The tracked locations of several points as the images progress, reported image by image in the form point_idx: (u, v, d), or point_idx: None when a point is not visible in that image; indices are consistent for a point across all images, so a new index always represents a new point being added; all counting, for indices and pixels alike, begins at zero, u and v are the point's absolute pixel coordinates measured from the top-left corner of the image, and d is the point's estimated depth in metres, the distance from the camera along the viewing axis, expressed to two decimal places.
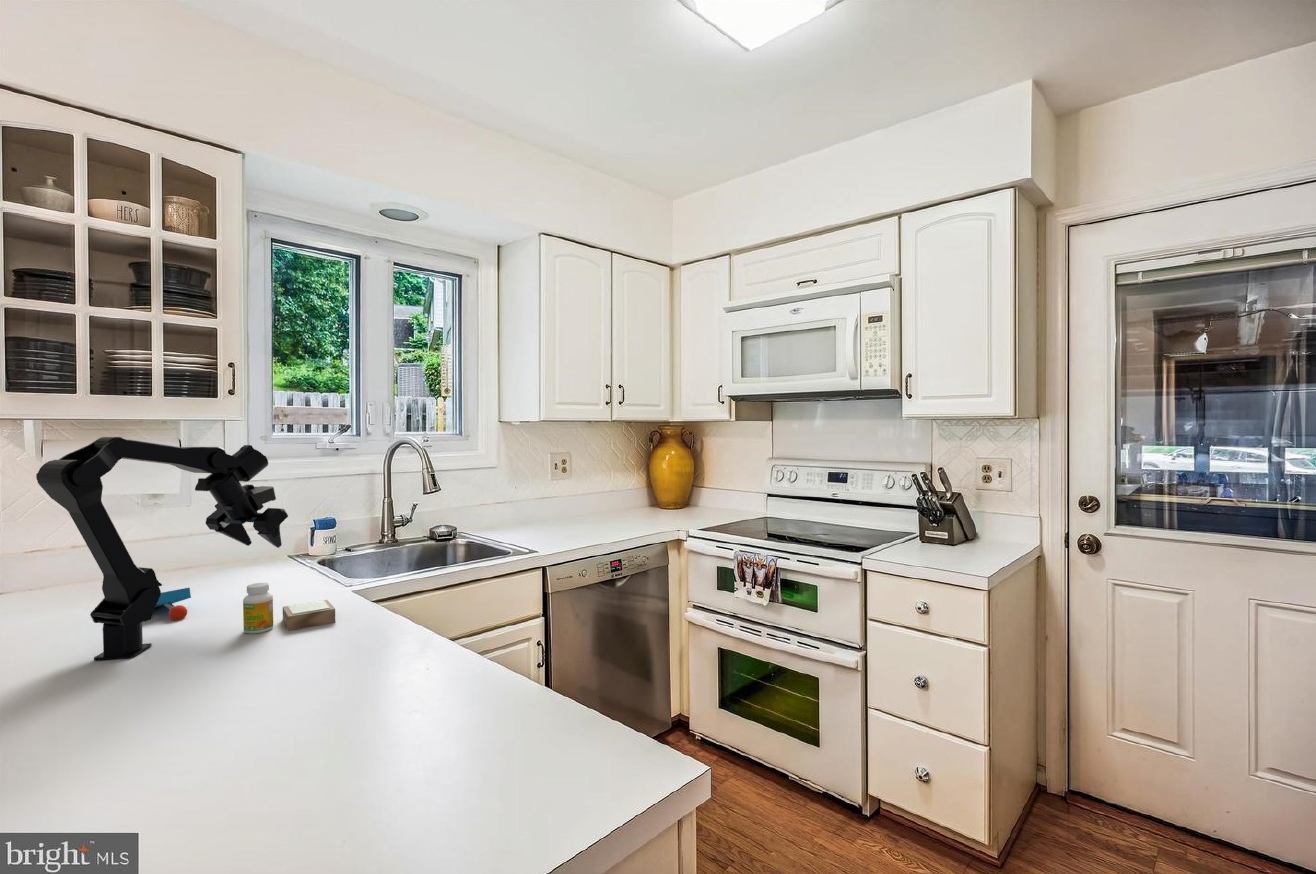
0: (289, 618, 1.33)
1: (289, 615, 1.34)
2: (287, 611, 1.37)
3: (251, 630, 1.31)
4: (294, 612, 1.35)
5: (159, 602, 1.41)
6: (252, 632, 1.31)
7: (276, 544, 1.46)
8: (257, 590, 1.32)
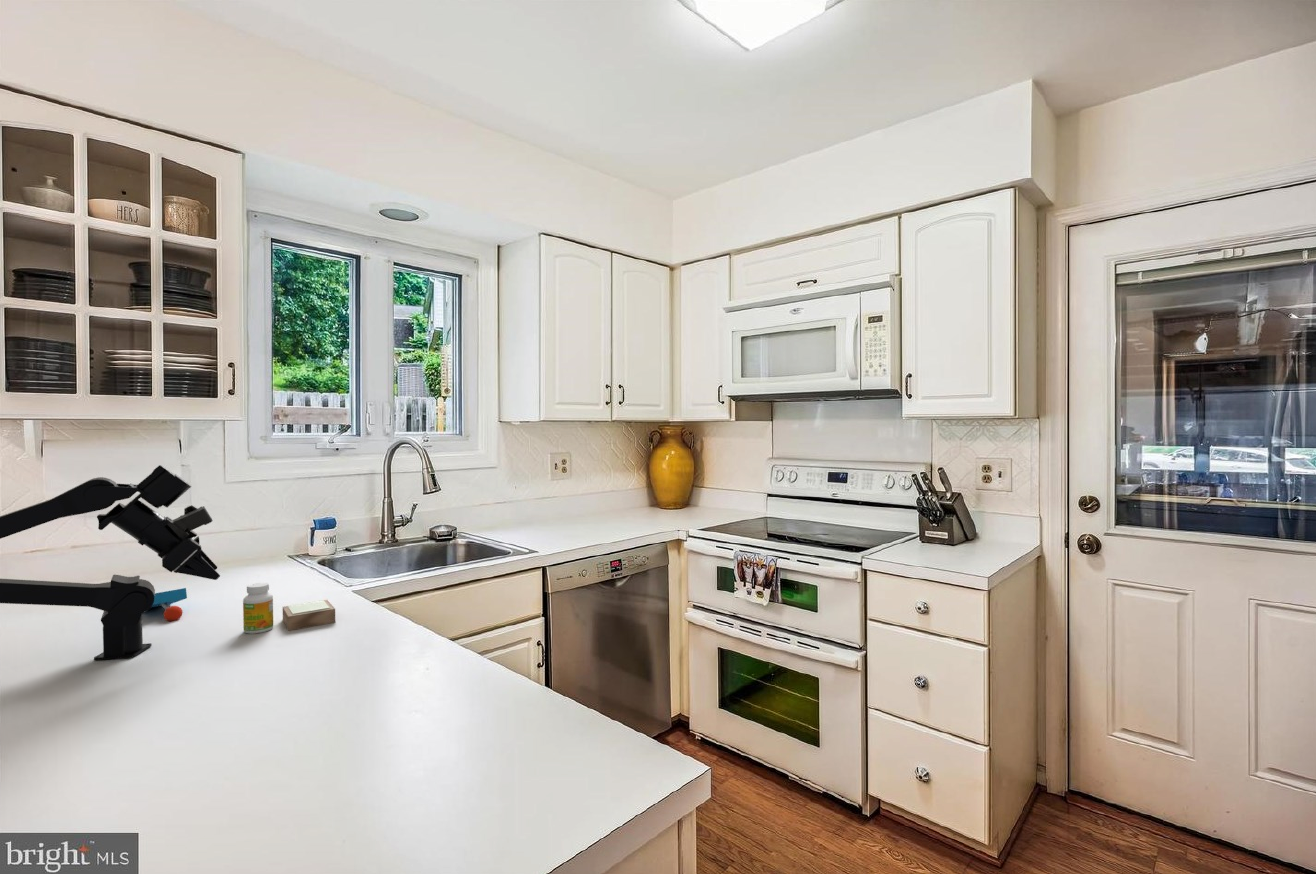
0: (289, 618, 1.33)
1: (289, 615, 1.34)
2: (287, 611, 1.37)
3: (251, 630, 1.31)
4: (294, 612, 1.35)
5: (154, 602, 1.41)
6: (252, 632, 1.31)
7: (209, 577, 1.24)
8: (257, 590, 1.32)
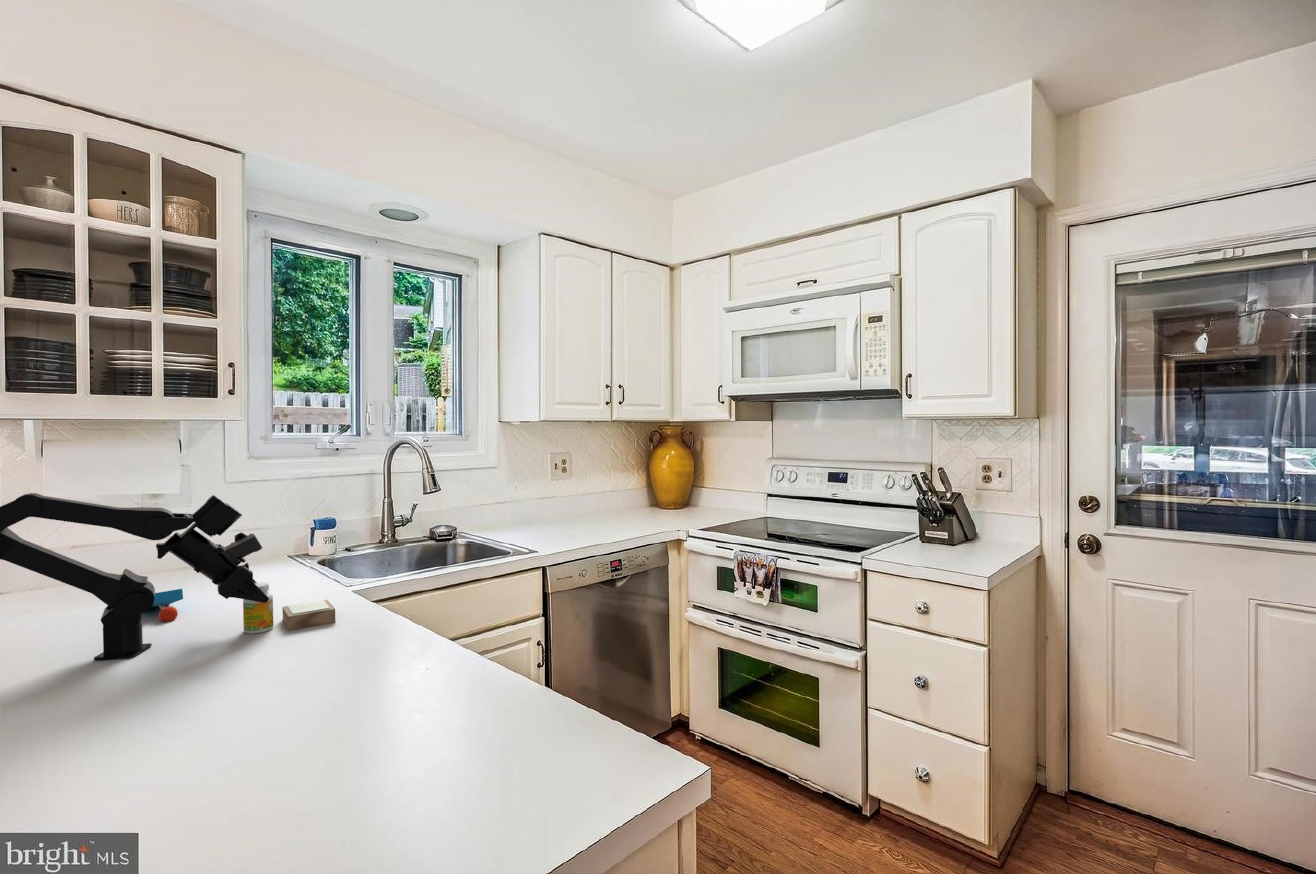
0: (289, 618, 1.33)
1: (289, 615, 1.34)
2: (287, 611, 1.37)
3: (251, 630, 1.31)
4: (294, 612, 1.35)
5: None
6: (252, 632, 1.31)
7: (259, 600, 1.31)
8: None
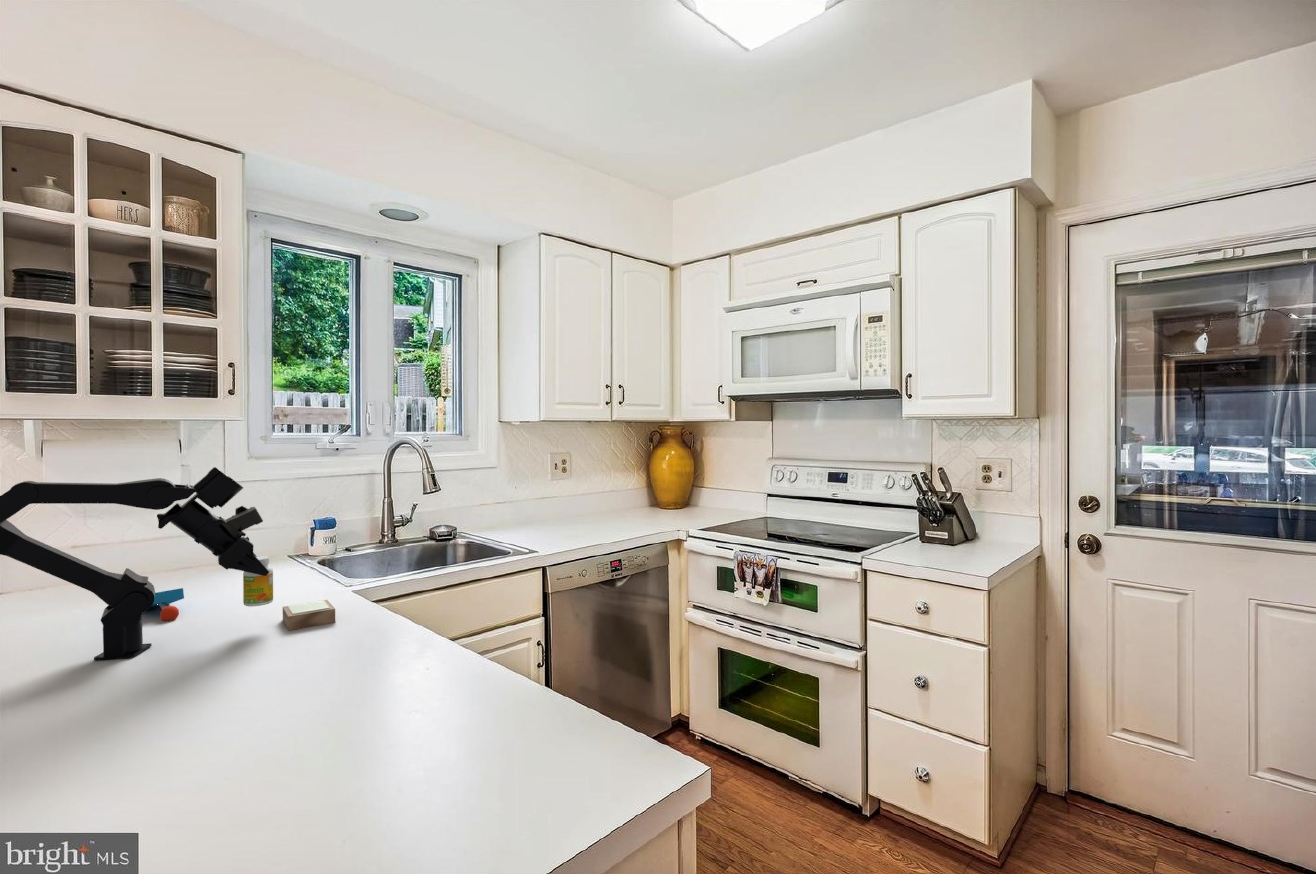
0: (289, 618, 1.33)
1: (289, 615, 1.34)
2: (287, 611, 1.37)
3: (251, 603, 1.31)
4: (294, 612, 1.35)
5: None
6: (252, 605, 1.31)
7: (259, 573, 1.31)
8: None
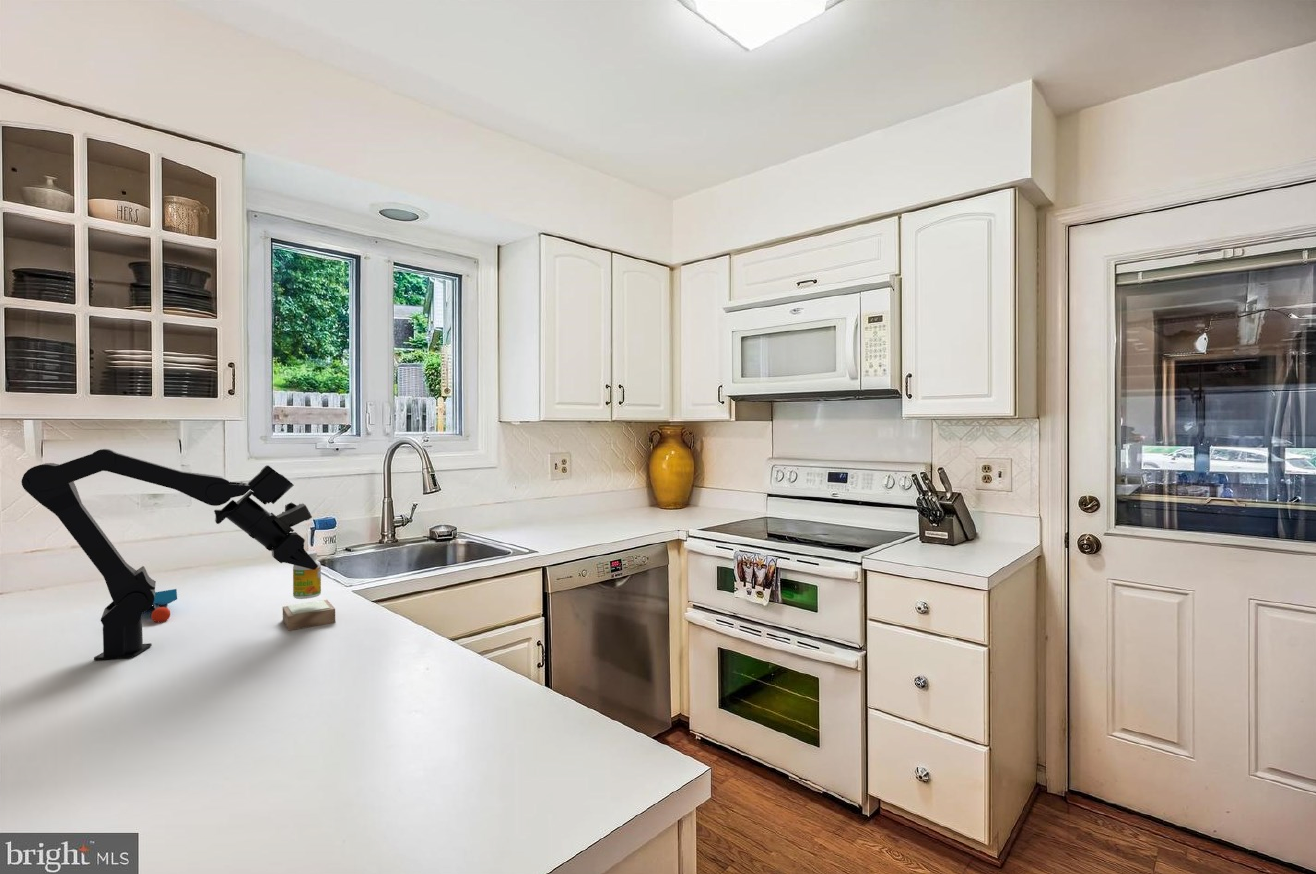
0: (289, 618, 1.33)
1: (289, 615, 1.34)
2: (287, 611, 1.37)
3: (301, 595, 1.36)
4: (294, 612, 1.35)
5: None
6: (302, 597, 1.37)
7: (309, 567, 1.36)
8: None
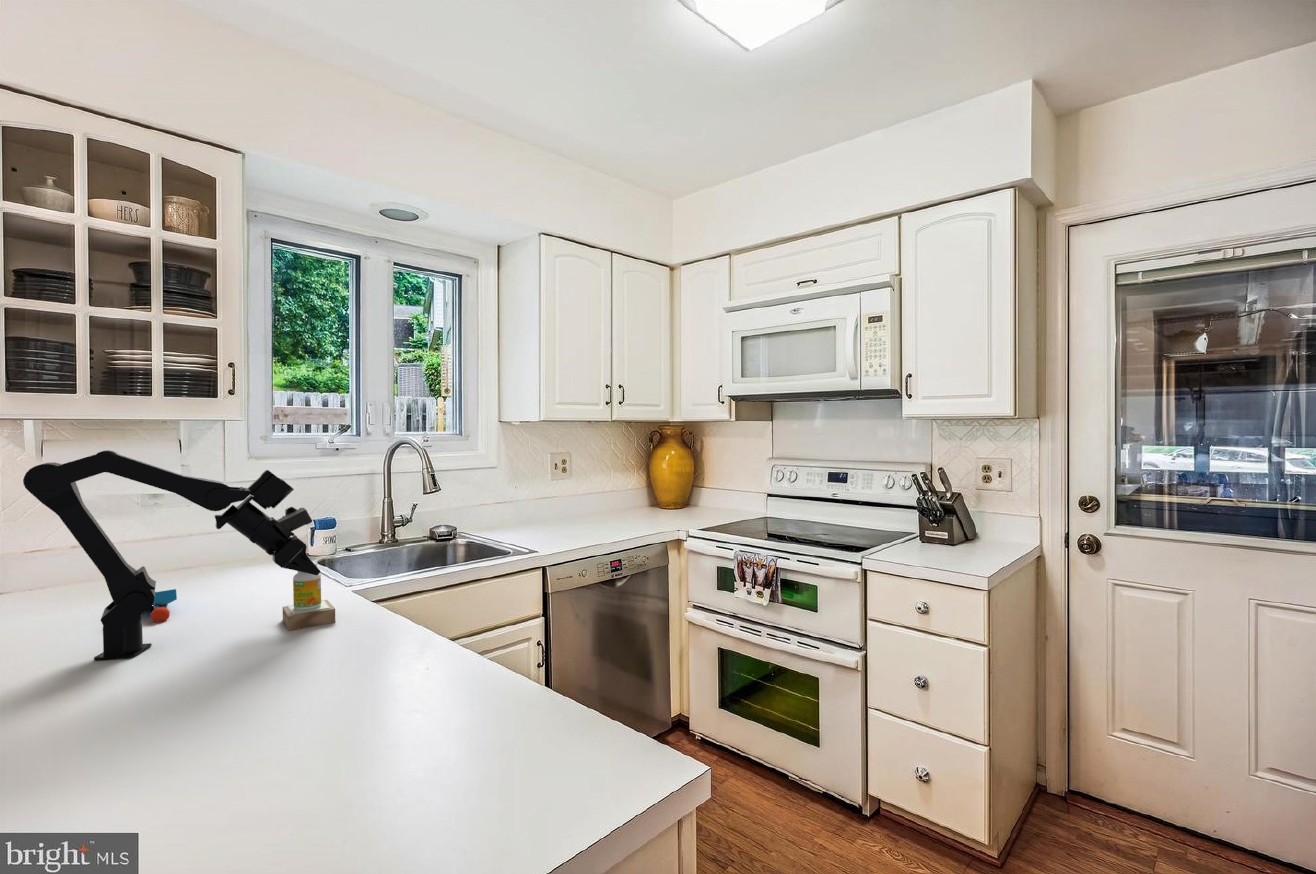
0: (289, 618, 1.33)
1: (289, 615, 1.34)
2: (287, 611, 1.37)
3: (301, 607, 1.37)
4: (294, 612, 1.35)
5: None
6: (302, 608, 1.37)
7: (311, 572, 1.35)
8: None
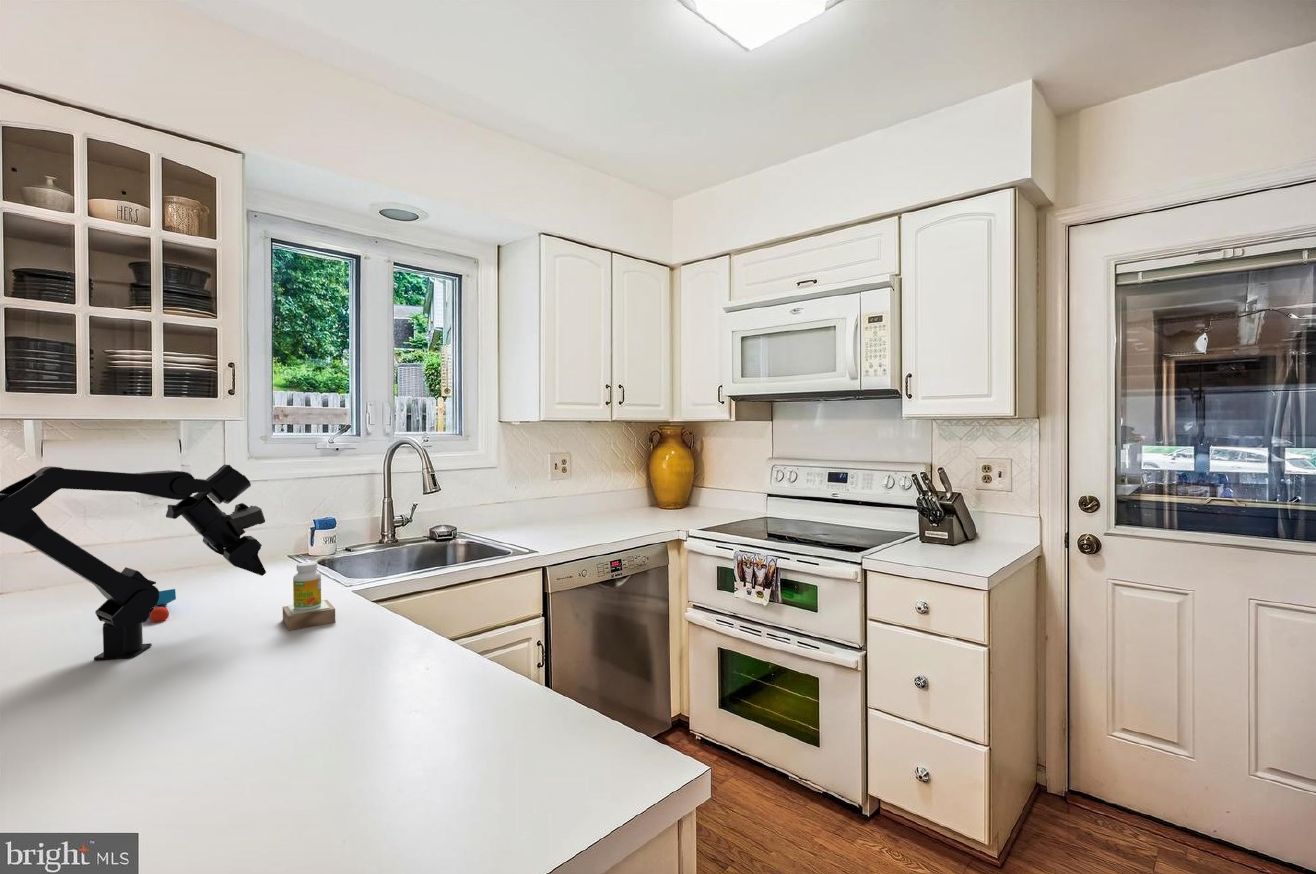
0: (289, 618, 1.33)
1: (289, 615, 1.34)
2: (287, 611, 1.37)
3: (301, 607, 1.37)
4: (294, 612, 1.35)
5: None
6: (302, 608, 1.37)
7: (257, 573, 1.36)
8: (307, 568, 1.37)
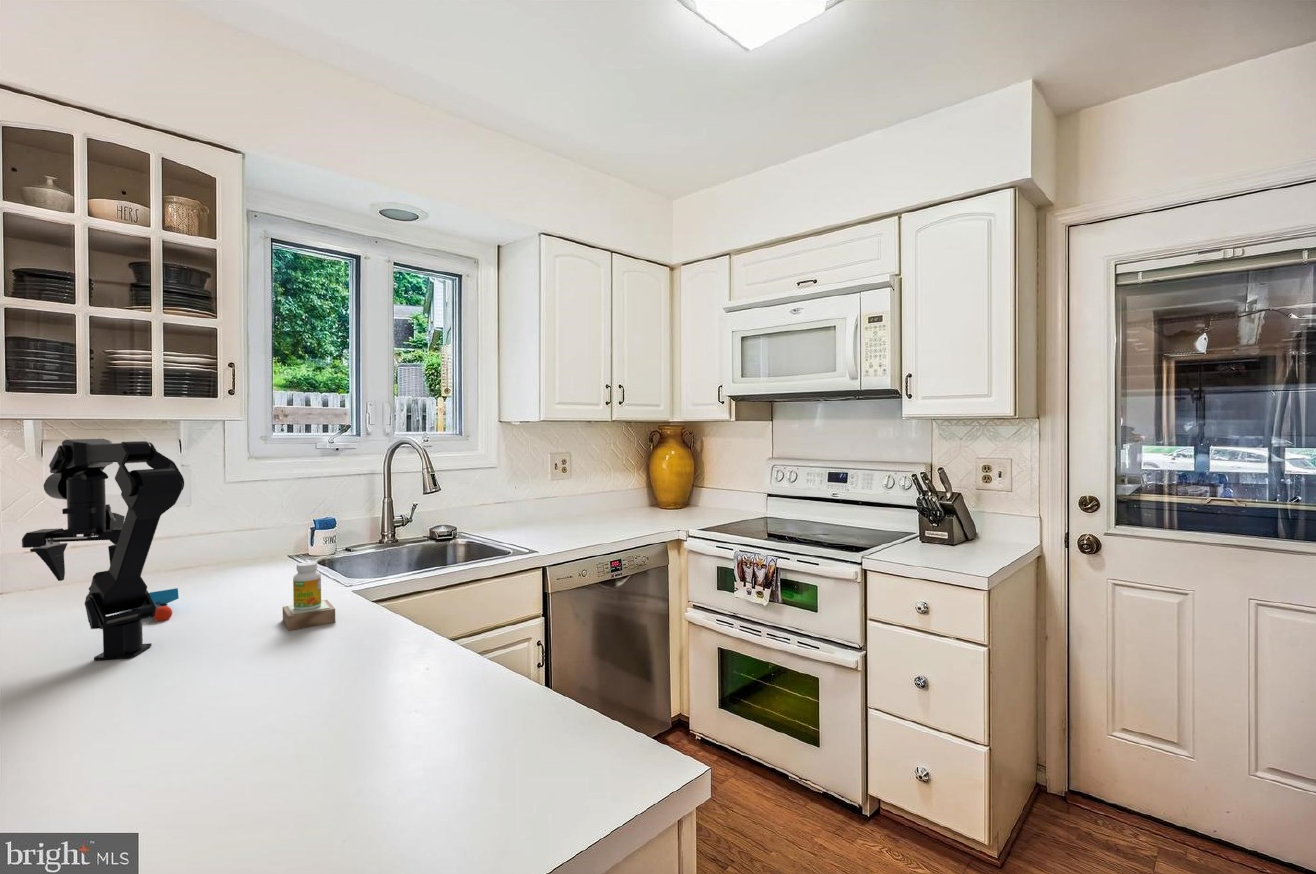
0: (289, 618, 1.33)
1: (289, 615, 1.34)
2: (287, 611, 1.37)
3: (301, 607, 1.37)
4: (294, 612, 1.35)
5: None
6: (302, 608, 1.37)
7: None
8: (307, 568, 1.37)
